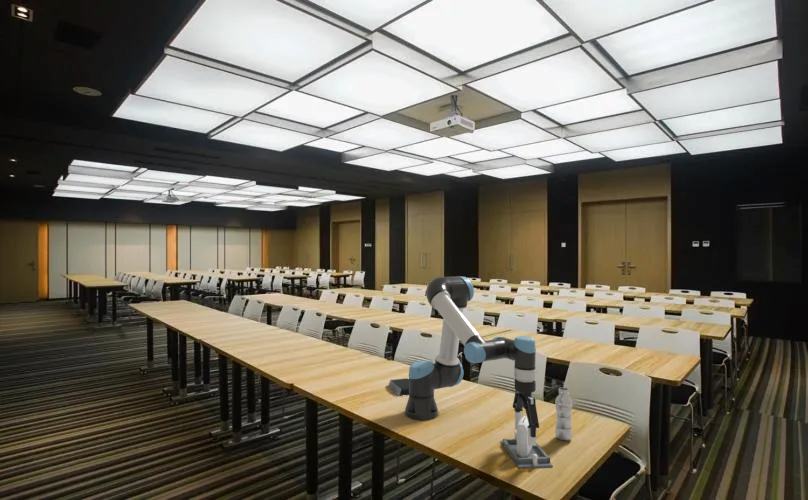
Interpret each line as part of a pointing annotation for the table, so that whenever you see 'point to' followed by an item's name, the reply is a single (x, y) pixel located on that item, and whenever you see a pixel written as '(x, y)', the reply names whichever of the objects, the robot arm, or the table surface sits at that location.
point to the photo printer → (523, 438)
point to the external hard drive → (400, 386)
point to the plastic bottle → (563, 415)
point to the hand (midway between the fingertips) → (525, 437)
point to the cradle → (533, 460)
